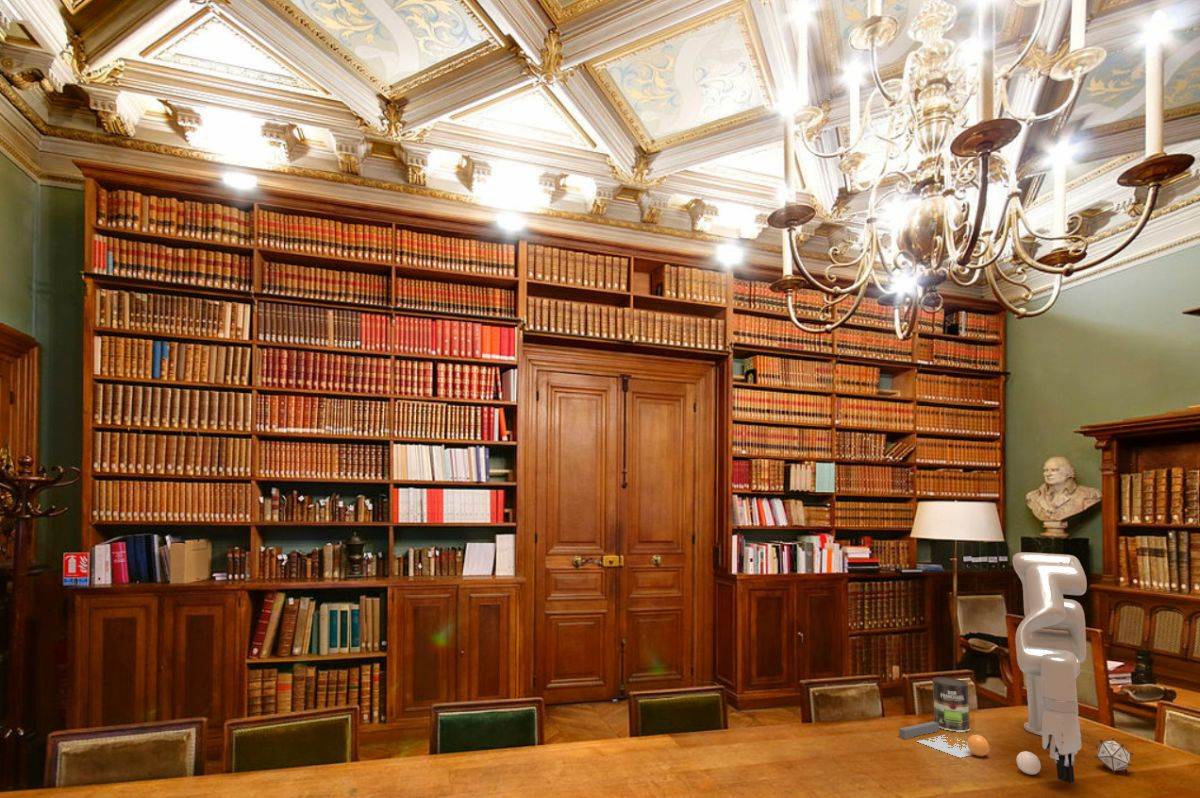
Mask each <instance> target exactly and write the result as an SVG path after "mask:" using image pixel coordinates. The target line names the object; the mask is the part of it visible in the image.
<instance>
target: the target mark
mask: <svg viewBox="0 0 1200 798" xmlns="http://www.w3.org/2000/svg"><path fill="white" fill-rule="evenodd" d="M945 735H946V734H943V735H938V736H934V737H929V738H927V739H929V740H928V741H927V740H925V739H926V738H925V739H920V740H916V741H915V743H917V742H919V743H918V744H920V743H921V745H923V744H924V745H923V746H925V745H927V746H926V747H928V746H929V747H928V748H931V747H932V748H931V749H933V748H934V750H936V749H937V750H936V751H939V750H940V751H939V752H941V751H942V753H944V752H945V754H947V753H948V754H947V755H949V754H950V756H952V755H953V756H952V757H955V756H956V757H955V758H958V757H959V758H958V759H963V758H966V756H967V757H971V756H975V755H974V754H973V753H972V752H971V751H970V750H969V748H968V746H967V745H965V744H962V745H963V746H966V748H965V747H963V746H962V749H961V747H960V748H959V746H961V745H959V744H956V743H955V744H954V745H953V746H954V747H953V746H951V745H948V742H947V743H946V742H943V741H947V740H946V739H941V738H946V737H943V736H945ZM941 736H942V737H941ZM936 737H938V738H936ZM931 738H935V739H931ZM947 738H948V737H947ZM936 739H937V740H936ZM958 739H959V738H957V741H960V740H961V739H960V740H958ZM930 740H933V741H935V742H932V741H930ZM950 741H951V740H950ZM962 742H965V740H963V741H962ZM957 743H958V742H957ZM966 743H967V741H966ZM955 745H956V746H955ZM957 746H958V747H957ZM948 747H950V748H948ZM951 747H953V748H951ZM960 749H961V750H960ZM962 757H963V758H962Z"/></svg>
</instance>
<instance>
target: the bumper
mask: <svg viewBox="0 0 1200 798" xmlns="http://www.w3.org/2000/svg"><path fill="white" fill-rule="evenodd" d="M937 731H939V732H940V728H939V723H936V722H935V721H933V720H932V721H929V722H924V723H919V724H913V725H910V726H905V727H900V728H898V734H899V738H900V737H901V739H903V738H904V739H903V740H907V738H908V739H911V738H910V737H913V738H915V737H914V736H917V737H919V736H918V735H922V736H924V735H923V734H926V735H929V734H928V733H931V734H934V733H933V732H935V733H938V732H937Z"/></svg>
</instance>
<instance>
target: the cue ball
mask: <svg viewBox="0 0 1200 798" xmlns="http://www.w3.org/2000/svg"><path fill="white" fill-rule="evenodd" d="M1016 764H1017V767H1018V769H1019V770H1021V771H1022V772H1023V773H1024V774H1027V775H1031V776H1032V775H1037V774H1038V773H1039V772H1040V771H1041V767H1042V765H1041V764H1042V763H1041V760H1040V758H1038V756H1037V755H1036V754H1034V753H1033V752H1031V751H1027V750H1025V751H1021V752H1019V753H1018V754H1017V756H1016Z"/></svg>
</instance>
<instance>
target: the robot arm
mask: <svg viewBox="0 0 1200 798" xmlns="http://www.w3.org/2000/svg"><path fill="white" fill-rule="evenodd" d="M1012 565H1013V569H1014V571H1015V572H1016V574H1017V576H1018V578H1019V579H1020V582H1021V584H1022V591H1023V592H1022V594H1023V595H1022V597H1023V613H1024V617H1025V618H1023V619H1022V621H1021V622H1020V623H1019V625H1018V627H1017V629H1016V632H1015V641H1014V642H1015V650H1016V651H1015V652H1016V661H1017V665H1018V667H1019V669H1020V671H1021V672H1022V673H1023V674H1025V680H1026V693H1027V694H1026V695H1027V708H1028V721H1027V722H1024V723H1023V728H1024V730H1025V731H1026V732H1029V733H1031V734H1034V735H1037V736H1041V743H1042V748H1043V750H1045V751H1049V758H1050V759H1052V760H1054V762H1055V764H1056V774H1057V775H1056V776H1057V779H1058V780H1059V781H1062V782H1065V783H1067V784H1072V783H1075V773H1074V765H1075V756H1076V755H1077V754H1078V752H1079V751H1080V750H1081V749H1082V735H1081V733H1082V732H1081V726H1080V720H1079V719H1080V718H1079V716H1078V715H1079V705H1078V704H1079V703H1078V692H1077V691H1078V690H1077V682H1076V681H1077V680H1076V679H1077V677H1078V676H1079V675H1080V674H1081V665H1080V664H1082V663H1084V662H1085V660H1086V659H1087V636H1086V635H1087V634H1086V618H1085V612H1084V609H1083V606H1082V605H1081V603H1080V602H1078V601H1077V600H1074V599H1068V598H1064V595H1068V596H1069V595H1070V596H1082V595H1085V593H1086V591H1087V585H1088V584H1087V576H1086V574H1085V570H1084V568H1083V566H1082V564H1081V562H1080V560H1079V559H1078V558H1077V557H1076V556H1074V555H1071V554H1060V553H1045V552H1044V553H1043V552H1016V553H1015V554H1014V555H1013V556H1012Z"/></svg>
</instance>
